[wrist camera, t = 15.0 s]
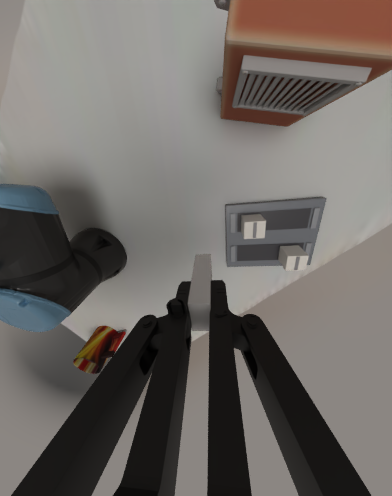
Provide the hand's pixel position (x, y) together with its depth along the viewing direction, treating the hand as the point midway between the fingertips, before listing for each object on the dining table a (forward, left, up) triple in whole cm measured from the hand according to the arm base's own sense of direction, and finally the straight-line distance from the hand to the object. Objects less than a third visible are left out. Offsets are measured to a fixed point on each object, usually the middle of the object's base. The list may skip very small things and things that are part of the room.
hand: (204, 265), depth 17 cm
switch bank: (+13, -7, -24) cm, 28 cm away
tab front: (+9, -3, -22) cm, 24 cm away
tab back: (+18, -11, -22) cm, 30 cm away
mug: (-44, -46, -24) cm, 68 cm away
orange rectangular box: (+9, +18, -24) cm, 31 cm away
